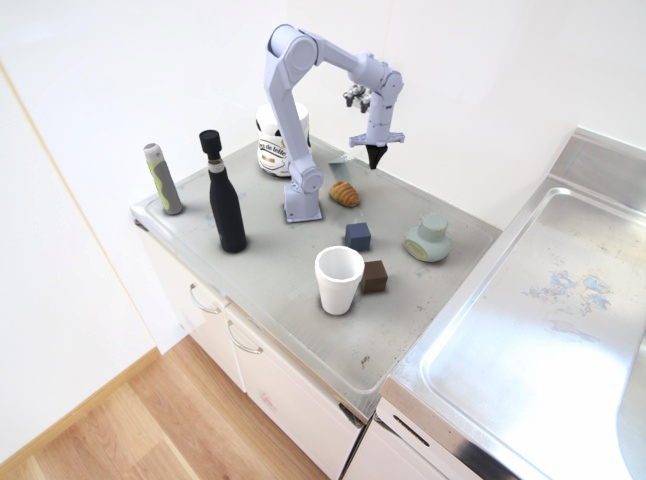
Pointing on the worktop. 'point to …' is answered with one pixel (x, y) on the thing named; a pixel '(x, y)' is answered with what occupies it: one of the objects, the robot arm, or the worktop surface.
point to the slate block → (358, 236)
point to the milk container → (276, 140)
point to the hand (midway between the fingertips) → (372, 167)
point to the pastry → (344, 194)
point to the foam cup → (338, 277)
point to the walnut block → (373, 277)
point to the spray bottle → (162, 178)
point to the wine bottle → (223, 196)
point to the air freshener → (429, 238)
